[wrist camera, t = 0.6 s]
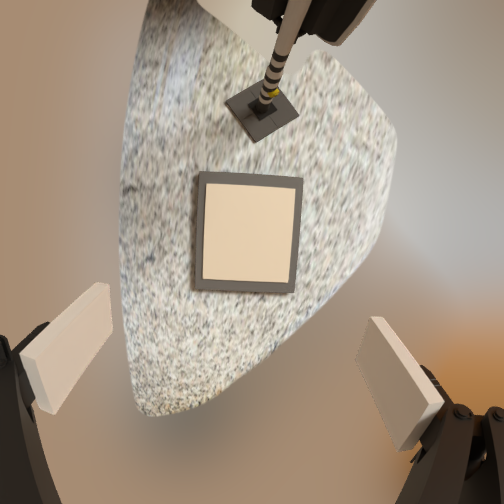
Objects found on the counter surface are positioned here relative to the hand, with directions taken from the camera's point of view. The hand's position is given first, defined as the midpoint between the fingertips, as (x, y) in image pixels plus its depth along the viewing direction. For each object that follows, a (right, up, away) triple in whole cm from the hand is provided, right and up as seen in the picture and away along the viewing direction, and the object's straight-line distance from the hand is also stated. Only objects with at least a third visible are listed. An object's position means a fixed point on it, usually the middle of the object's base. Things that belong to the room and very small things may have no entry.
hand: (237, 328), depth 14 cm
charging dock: (0, +6, +25) cm, 26 cm away
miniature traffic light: (+2, +23, +22) cm, 32 cm away
